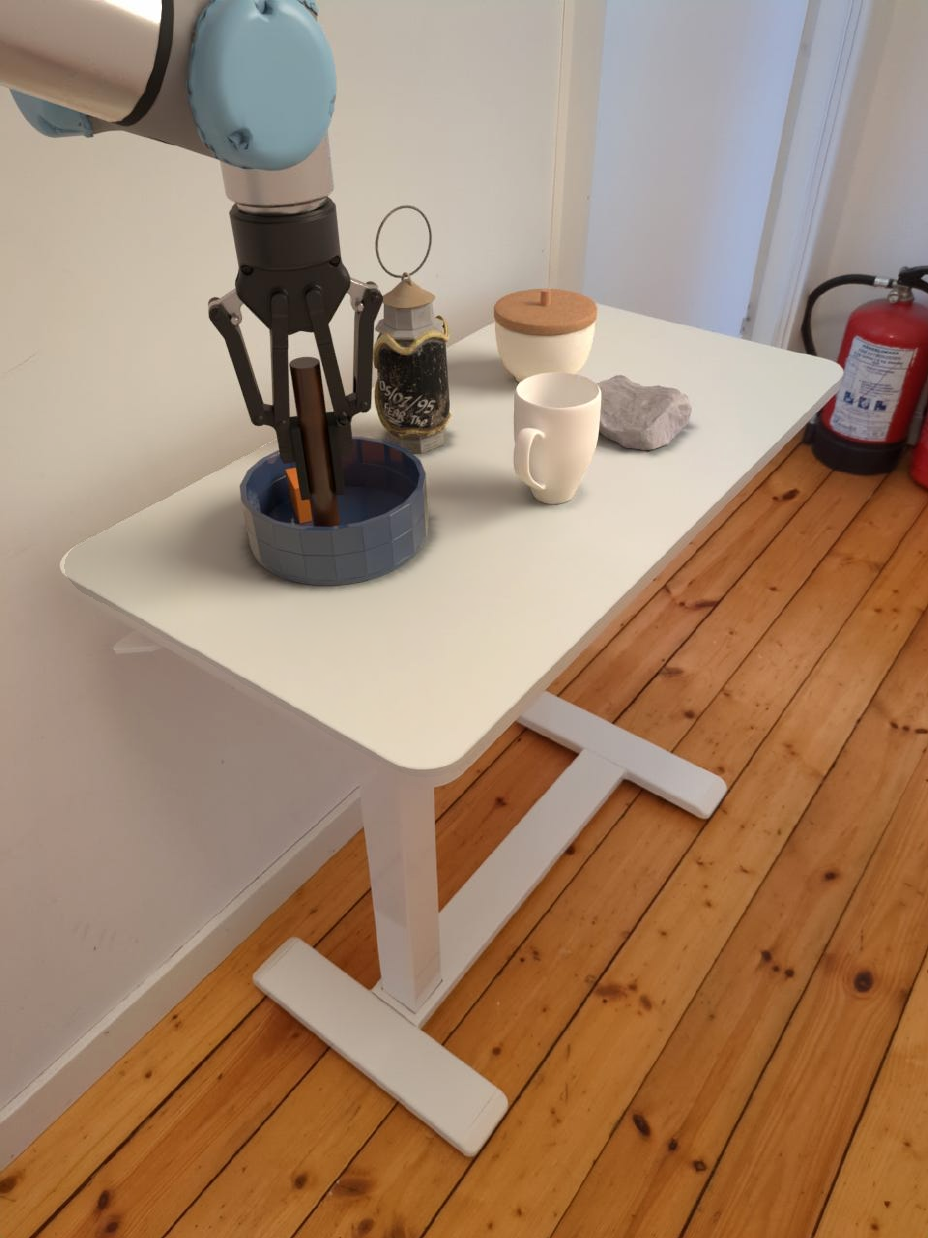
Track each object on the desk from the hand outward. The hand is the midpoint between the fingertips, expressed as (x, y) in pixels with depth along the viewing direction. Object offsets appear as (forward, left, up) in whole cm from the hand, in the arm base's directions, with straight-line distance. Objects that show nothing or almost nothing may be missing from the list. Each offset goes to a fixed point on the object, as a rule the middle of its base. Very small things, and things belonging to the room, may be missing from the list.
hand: (321, 489), depth 78 cm
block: (-1, +10, -8) cm, 12 cm away
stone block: (+36, +19, -8) cm, 42 cm away
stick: (0, 0, -6) cm, 6 cm away
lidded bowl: (+31, +35, -8) cm, 47 cm away
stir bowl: (+1, +6, -8) cm, 10 cm away
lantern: (+12, +23, -8) cm, 27 cm away
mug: (+22, +6, -8) cm, 25 cm away
